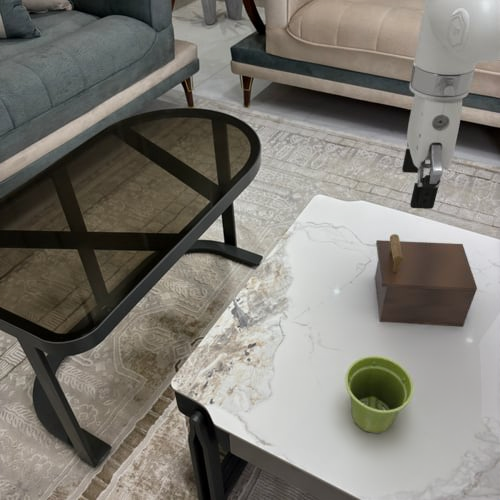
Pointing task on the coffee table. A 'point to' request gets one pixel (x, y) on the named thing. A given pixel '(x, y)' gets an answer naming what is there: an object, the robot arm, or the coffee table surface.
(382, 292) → the chest
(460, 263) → the lid
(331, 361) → the coffee table surface
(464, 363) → the coffee table surface
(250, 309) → the coffee table surface
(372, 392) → the plant pot
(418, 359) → the coffee table surface
